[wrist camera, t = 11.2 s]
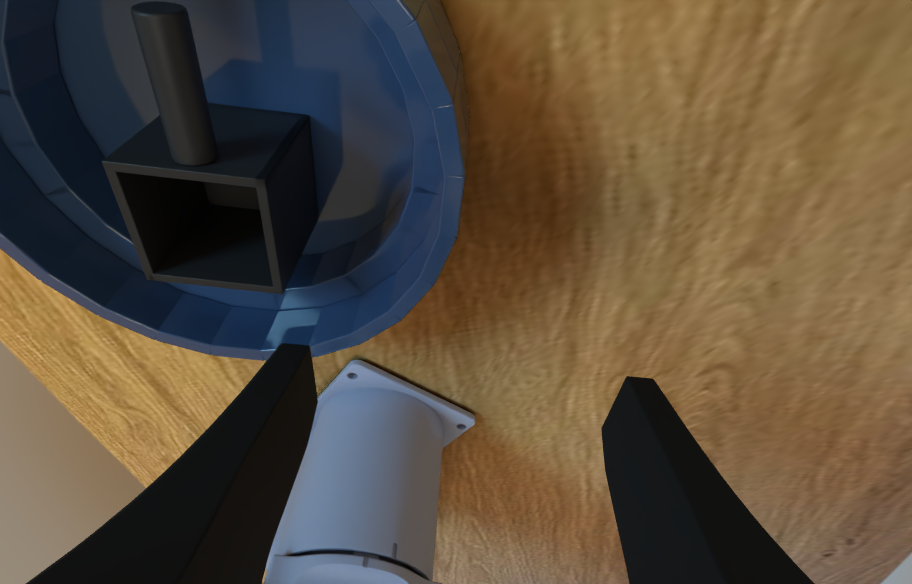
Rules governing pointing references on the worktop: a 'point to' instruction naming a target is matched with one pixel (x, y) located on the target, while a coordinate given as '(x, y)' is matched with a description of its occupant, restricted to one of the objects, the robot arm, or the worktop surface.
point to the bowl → (253, 86)
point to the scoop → (211, 174)
